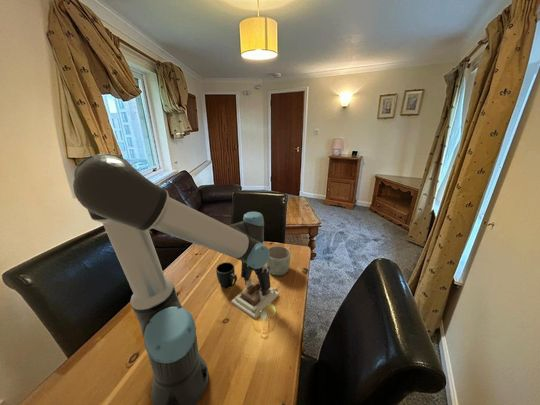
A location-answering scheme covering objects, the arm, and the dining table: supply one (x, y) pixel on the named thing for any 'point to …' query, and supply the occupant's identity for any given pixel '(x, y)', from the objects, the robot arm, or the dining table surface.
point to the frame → (250, 290)
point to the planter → (278, 260)
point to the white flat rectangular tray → (261, 305)
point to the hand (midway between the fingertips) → (255, 296)
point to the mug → (226, 275)
